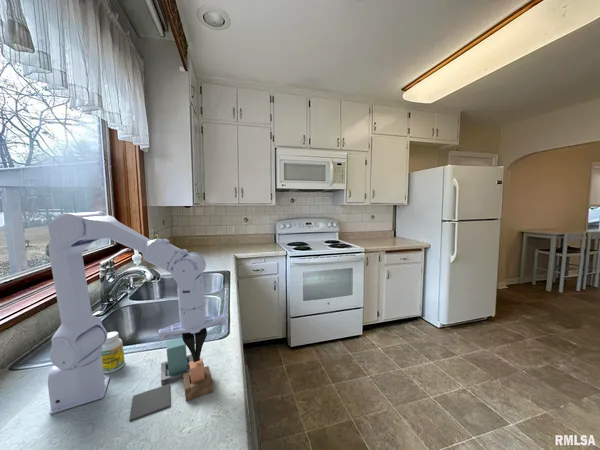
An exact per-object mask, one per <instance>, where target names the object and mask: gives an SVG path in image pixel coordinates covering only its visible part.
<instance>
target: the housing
mask: <svg viewBox="0 0 600 450" xmlns="http://www.w3.org/2000/svg"><path fill="white" fill-rule="evenodd" d="M204 373H205V379H204V380H201V381H198V382H195V383H192V384H191V378H190V372H188V373H185V374H183V378H182V379H183V388H184V397H185V402H188V401H192V400H194V399H197V398H200V397H202V396H205V395H208V394H211V393H213V392H214V387H213V386H214V384H213V383H214V382H213V377H212V374H211V370H210V366H209V365H207V366H204Z"/></svg>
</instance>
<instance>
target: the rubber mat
mask: <svg viewBox="0 0 600 450" xmlns="http://www.w3.org/2000/svg"><path fill="white" fill-rule="evenodd" d="M170 386H171V385H170V383H167V384H164V385H161V386H160V387H156V388H154V389H153V388H152V389H149V390H147V391H143V392H141V393H137V394H134V395H133V396H132V402H131V406H130V407H131V408H130V413H129V414H130V415H129V419H128V420H129V422H132V421H135V420H138V419H140V418H143V417H146V416H148V415H151V414H154V413H157V412H160V411H162V410H165V409H167V408H170V407H171V394H170V393H171V391H170V389H171V387H170Z"/></svg>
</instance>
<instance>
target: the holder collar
mask: <svg viewBox="0 0 600 450" xmlns="http://www.w3.org/2000/svg"><path fill="white" fill-rule="evenodd" d="M191 361H193V357H192V354H191V353H190V354H189V355H188V354H187V362H188V363H189V362H191ZM160 364H161V365H160V366H161V367H160V385H161V386H164V385H167V384H170V383H172V382H176V381H178V380H181V379H184V378H183V374H185V373H188V372H190V368H188V370H186V371H182V372H179V373H176V374H173V375H170V376H169V375H167V373H166V371H167V369H168V360H167V361H164V362H161V363H160ZM166 375H167V376H166Z"/></svg>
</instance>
